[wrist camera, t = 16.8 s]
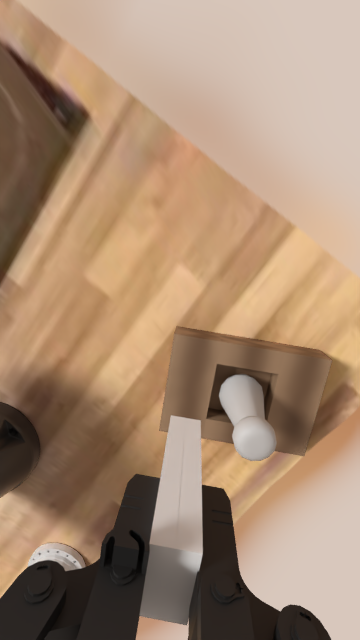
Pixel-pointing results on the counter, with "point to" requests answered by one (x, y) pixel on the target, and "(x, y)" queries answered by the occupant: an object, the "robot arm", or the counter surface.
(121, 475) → the counter surface
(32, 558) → the mechanical component
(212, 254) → the counter surface
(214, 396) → the stand
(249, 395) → the salt shaker
